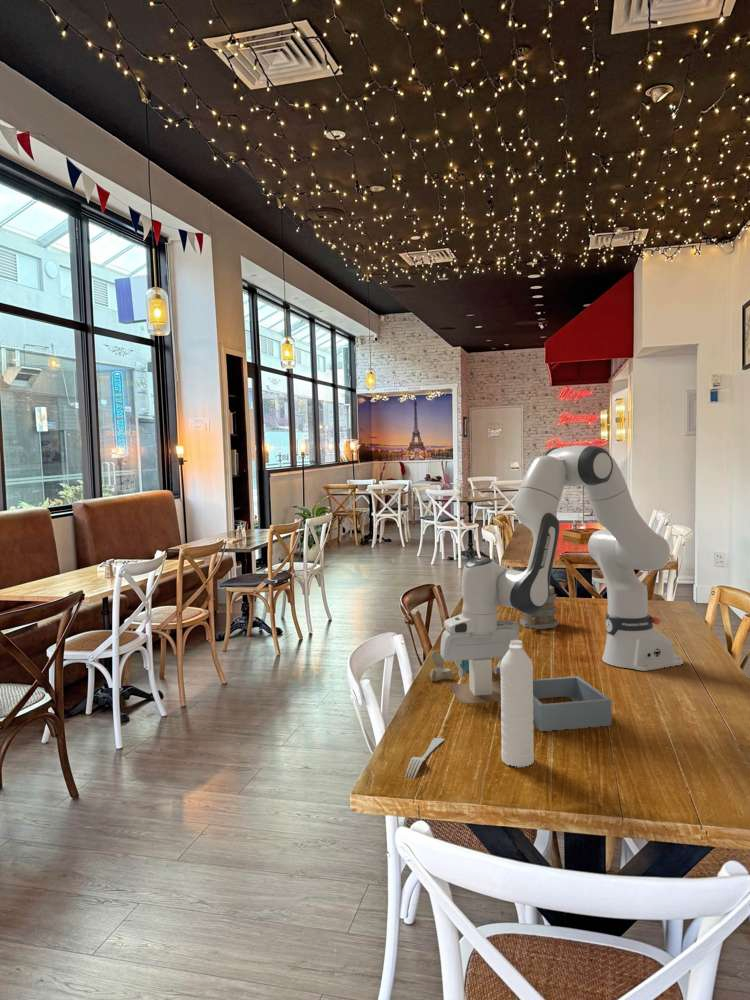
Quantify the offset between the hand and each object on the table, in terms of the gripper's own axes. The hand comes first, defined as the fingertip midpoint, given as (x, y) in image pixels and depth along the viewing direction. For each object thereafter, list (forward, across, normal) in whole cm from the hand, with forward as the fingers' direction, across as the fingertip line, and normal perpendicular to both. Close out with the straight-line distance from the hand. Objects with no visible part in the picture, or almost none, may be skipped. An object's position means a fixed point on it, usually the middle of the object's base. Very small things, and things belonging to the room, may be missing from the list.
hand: (480, 675), depth 174 cm
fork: (+7, +21, +30) cm, 38 cm away
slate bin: (+6, -15, +15) cm, 22 cm away
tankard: (+6, -40, -63) cm, 75 cm away
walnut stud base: (+6, 0, 0) cm, 6 cm away
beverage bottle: (+6, -3, -19) cm, 20 cm away
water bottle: (+6, +4, +37) cm, 38 cm away
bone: (+6, +7, -13) cm, 16 cm away
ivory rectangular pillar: (+4, 0, 0) cm, 4 cm away
